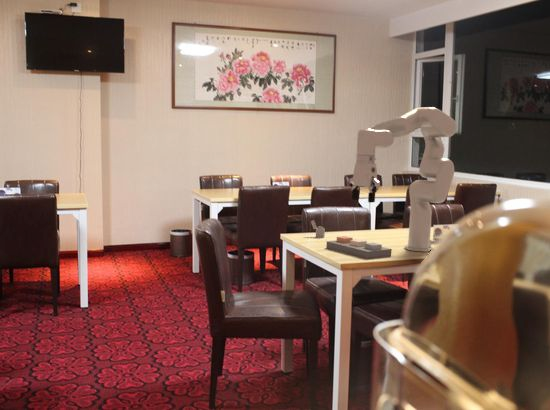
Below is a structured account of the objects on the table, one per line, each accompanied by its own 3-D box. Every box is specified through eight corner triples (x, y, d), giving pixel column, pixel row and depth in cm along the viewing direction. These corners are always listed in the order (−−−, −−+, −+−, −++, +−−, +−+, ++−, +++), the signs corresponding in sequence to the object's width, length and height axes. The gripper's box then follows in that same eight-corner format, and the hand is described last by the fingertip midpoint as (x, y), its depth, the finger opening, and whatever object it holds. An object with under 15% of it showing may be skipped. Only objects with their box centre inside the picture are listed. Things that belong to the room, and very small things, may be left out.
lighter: (324, 237, 294) (325, 221, 293) (323, 237, 293) (324, 221, 292) (311, 235, 297) (312, 219, 296) (309, 236, 296) (310, 220, 295)
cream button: (358, 246, 261) (358, 239, 261) (366, 247, 257) (366, 241, 257) (350, 246, 258) (350, 240, 258) (357, 248, 254) (358, 241, 254)
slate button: (372, 249, 254) (373, 242, 254) (381, 251, 250) (381, 244, 250) (364, 250, 251) (364, 243, 251) (372, 252, 247) (373, 245, 247)
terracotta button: (344, 242, 269) (345, 236, 268) (352, 244, 265) (352, 237, 264) (336, 243, 266) (336, 236, 265) (343, 245, 262) (344, 238, 261)
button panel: (349, 245, 273) (350, 239, 272) (391, 256, 252) (391, 249, 251) (326, 247, 265) (326, 241, 264) (367, 258, 244) (367, 251, 243)
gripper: (387, 160, 239) (384, 203, 240) (357, 158, 253) (355, 198, 254) (373, 160, 234) (371, 203, 236) (344, 158, 248) (342, 199, 250)
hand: (363, 200), depth 245 cm, fingers open, 9 cm apart
